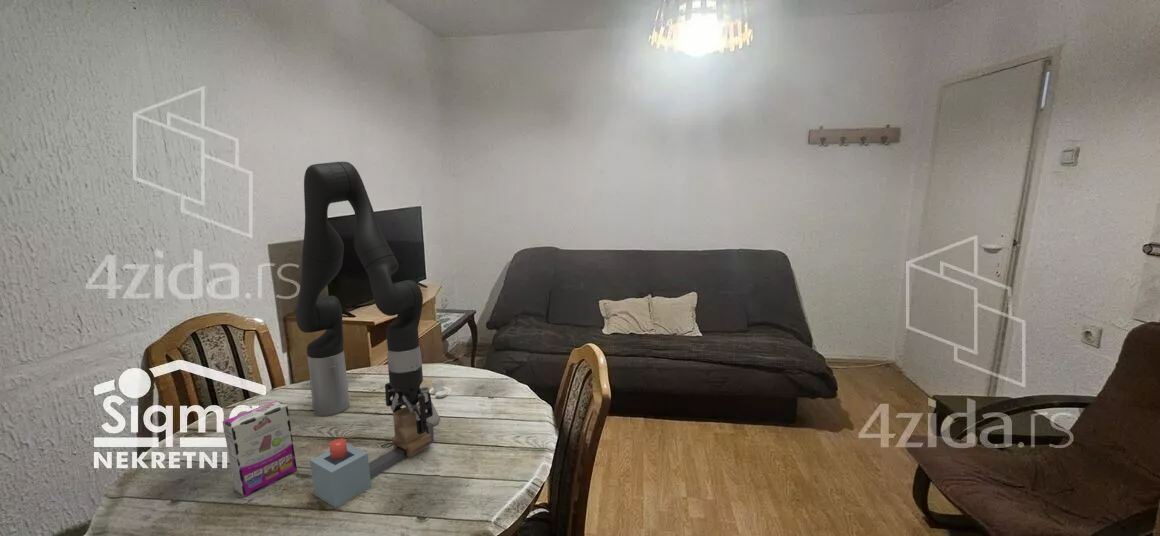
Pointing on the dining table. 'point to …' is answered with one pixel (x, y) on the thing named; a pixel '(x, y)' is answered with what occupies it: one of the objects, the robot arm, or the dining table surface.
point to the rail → (393, 456)
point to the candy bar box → (260, 447)
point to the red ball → (338, 449)
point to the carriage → (408, 432)
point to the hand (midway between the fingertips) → (410, 428)
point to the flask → (435, 417)
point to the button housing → (340, 476)
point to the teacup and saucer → (439, 389)
